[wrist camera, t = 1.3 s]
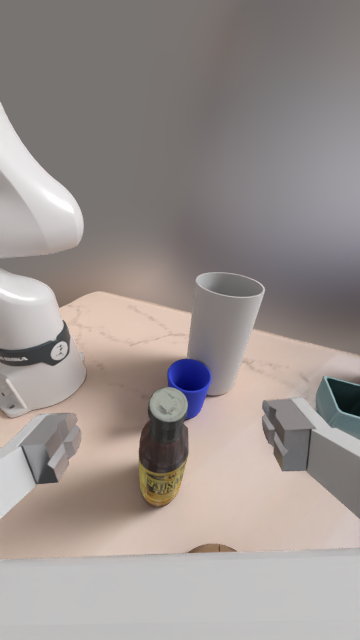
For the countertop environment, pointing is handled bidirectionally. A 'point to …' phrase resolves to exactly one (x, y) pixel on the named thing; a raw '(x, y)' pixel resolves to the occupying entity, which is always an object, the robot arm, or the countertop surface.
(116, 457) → the countertop surface
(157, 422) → the sauce bottle
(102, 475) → the countertop surface
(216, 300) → the cylinder vase
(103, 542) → the countertop surface
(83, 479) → the countertop surface
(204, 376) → the mug
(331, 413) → the flower pot
